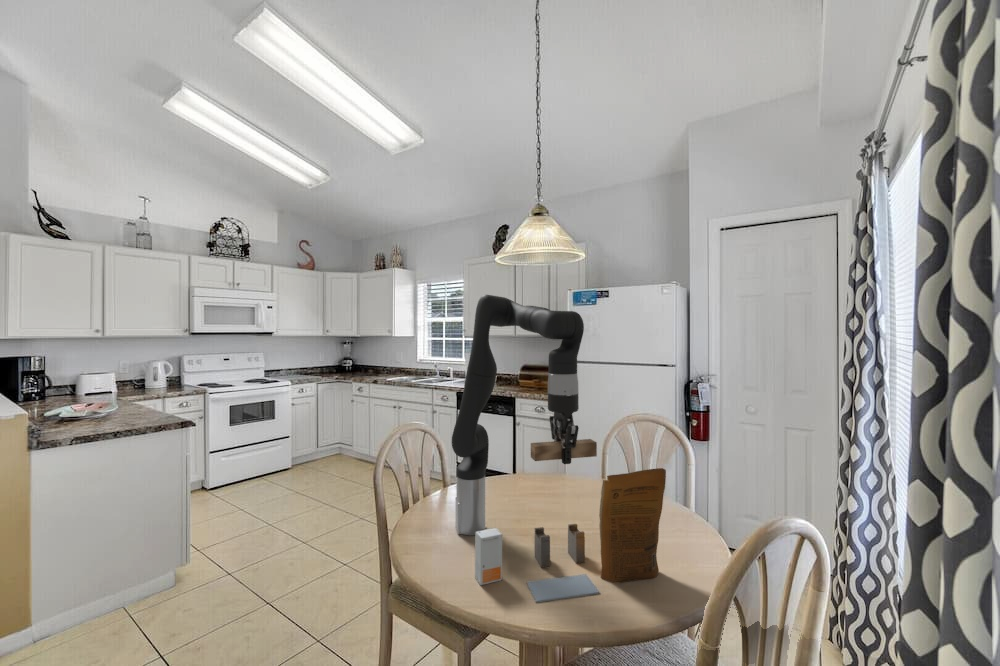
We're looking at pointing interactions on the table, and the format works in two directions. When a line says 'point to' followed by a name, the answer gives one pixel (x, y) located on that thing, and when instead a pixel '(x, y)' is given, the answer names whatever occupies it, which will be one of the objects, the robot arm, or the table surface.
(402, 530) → the table surface
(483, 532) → the skincare box
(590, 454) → the rail
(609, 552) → the pancake mix bag
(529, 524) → the table surface
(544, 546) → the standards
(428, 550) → the table surface
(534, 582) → the mat
